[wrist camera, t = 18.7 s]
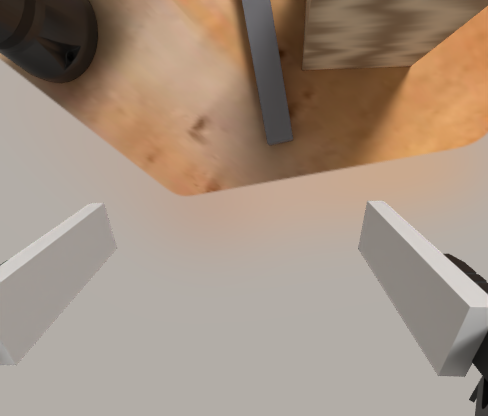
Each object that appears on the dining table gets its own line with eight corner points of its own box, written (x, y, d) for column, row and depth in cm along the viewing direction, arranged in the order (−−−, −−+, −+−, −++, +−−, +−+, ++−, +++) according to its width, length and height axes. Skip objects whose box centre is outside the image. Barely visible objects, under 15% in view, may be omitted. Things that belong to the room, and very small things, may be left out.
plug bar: (269, 145, 39) (267, 144, 36) (238, -29, 36) (233, -49, 32) (292, 140, 38) (293, 138, 35) (263, -38, 35) (260, -59, 32)
